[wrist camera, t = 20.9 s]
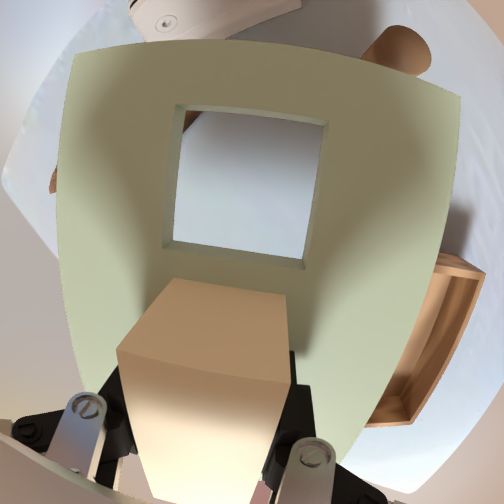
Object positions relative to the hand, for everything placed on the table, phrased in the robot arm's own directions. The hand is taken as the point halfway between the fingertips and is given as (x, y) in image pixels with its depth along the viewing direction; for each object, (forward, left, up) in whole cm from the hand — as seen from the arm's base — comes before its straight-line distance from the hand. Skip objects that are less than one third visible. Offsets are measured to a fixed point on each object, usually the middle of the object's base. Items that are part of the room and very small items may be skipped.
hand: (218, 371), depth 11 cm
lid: (0, -1, -2) cm, 2 cm away
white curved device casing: (+7, -25, -20) cm, 33 cm away
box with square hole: (-17, +9, -20) cm, 28 cm away
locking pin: (-8, -17, -20) cm, 27 cm away
